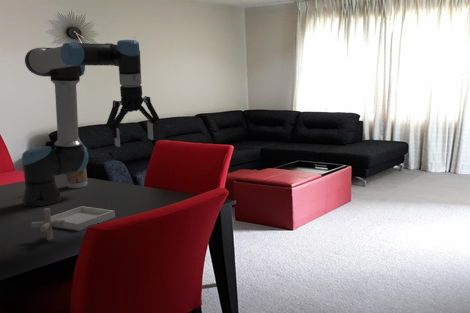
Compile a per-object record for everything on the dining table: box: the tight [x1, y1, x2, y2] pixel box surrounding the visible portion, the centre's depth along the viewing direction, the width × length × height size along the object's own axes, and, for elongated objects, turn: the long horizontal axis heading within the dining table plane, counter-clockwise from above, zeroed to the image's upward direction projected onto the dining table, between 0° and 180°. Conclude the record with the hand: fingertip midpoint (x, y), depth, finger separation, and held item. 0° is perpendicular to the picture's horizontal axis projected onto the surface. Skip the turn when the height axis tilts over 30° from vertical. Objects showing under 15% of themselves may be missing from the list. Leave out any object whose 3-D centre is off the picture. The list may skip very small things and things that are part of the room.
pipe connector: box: [31, 207, 65, 241], centre depth 143 cm, size 10×10×10 cm
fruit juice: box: [65, 136, 88, 189], centre depth 219 cm, size 9×9×28 cm
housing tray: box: [51, 205, 116, 232], centre depth 162 cm, size 17×17×2 cm
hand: (134, 142), depth 166 cm, fingers open, 13 cm apart
